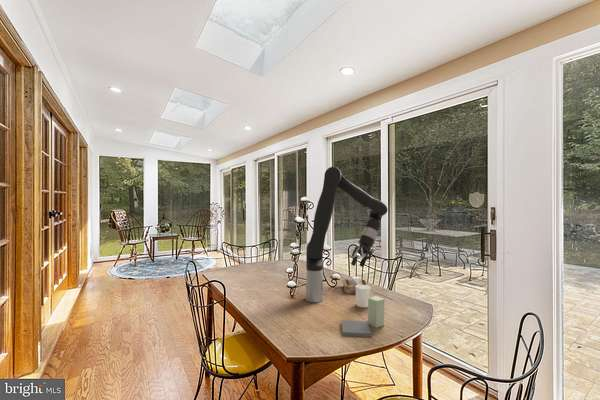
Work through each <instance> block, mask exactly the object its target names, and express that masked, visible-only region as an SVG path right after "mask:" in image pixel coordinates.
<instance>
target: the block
mask: <svg viewBox="0 0 600 400" xmlns="http://www.w3.org/2000/svg"><path fill="white" fill-rule="evenodd" d="M367 308H368V309H367V321H368V324H369V326H372V327H374V328H379V327H382V326H385V298H383V297H379V296H378V295H374V296H370V298H368V307H367Z"/></svg>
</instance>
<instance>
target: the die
mask: <svg viewBox="0 0 600 400" xmlns="http://www.w3.org/2000/svg"><path fill="white" fill-rule="evenodd" d="M350 279H351V280H349V281H348V282H349V285H350V286H356V285H363V284H362V281H361V277H357V276H355V275H354V276H353V277H352V278H350Z"/></svg>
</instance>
